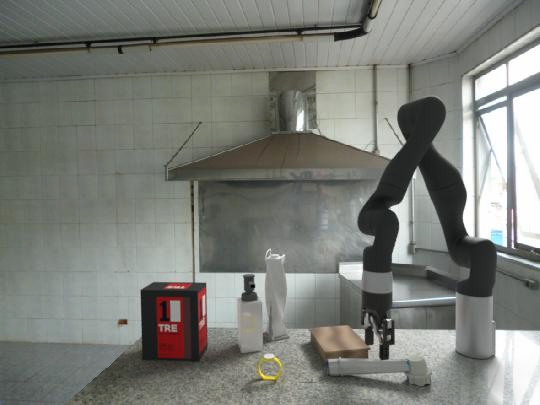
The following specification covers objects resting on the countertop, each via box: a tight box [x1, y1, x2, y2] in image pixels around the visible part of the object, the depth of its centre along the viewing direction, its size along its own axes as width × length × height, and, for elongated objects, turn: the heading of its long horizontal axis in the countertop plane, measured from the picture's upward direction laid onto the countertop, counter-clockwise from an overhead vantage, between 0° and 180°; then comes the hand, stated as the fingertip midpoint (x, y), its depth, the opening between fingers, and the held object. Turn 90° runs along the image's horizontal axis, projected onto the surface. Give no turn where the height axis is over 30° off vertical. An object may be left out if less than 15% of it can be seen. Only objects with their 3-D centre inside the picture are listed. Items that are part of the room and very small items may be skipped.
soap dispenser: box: [236, 273, 264, 354], centre depth 109 cm, size 6×9×22 cm
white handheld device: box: [325, 355, 433, 387], centre depth 91 cm, size 5×7×25 cm
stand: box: [308, 324, 372, 365], centre depth 107 cm, size 13×17×4 cm
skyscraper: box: [263, 248, 291, 343], centre depth 119 cm, size 8×8×28 cm
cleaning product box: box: [139, 281, 209, 363], centre depth 106 cm, size 16×9×20 cm, turn 84°
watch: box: [257, 353, 283, 381], centre depth 92 cm, size 6×3×6 cm, turn 84°
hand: (376, 351), depth 91 cm, fingers open, 8 cm apart
